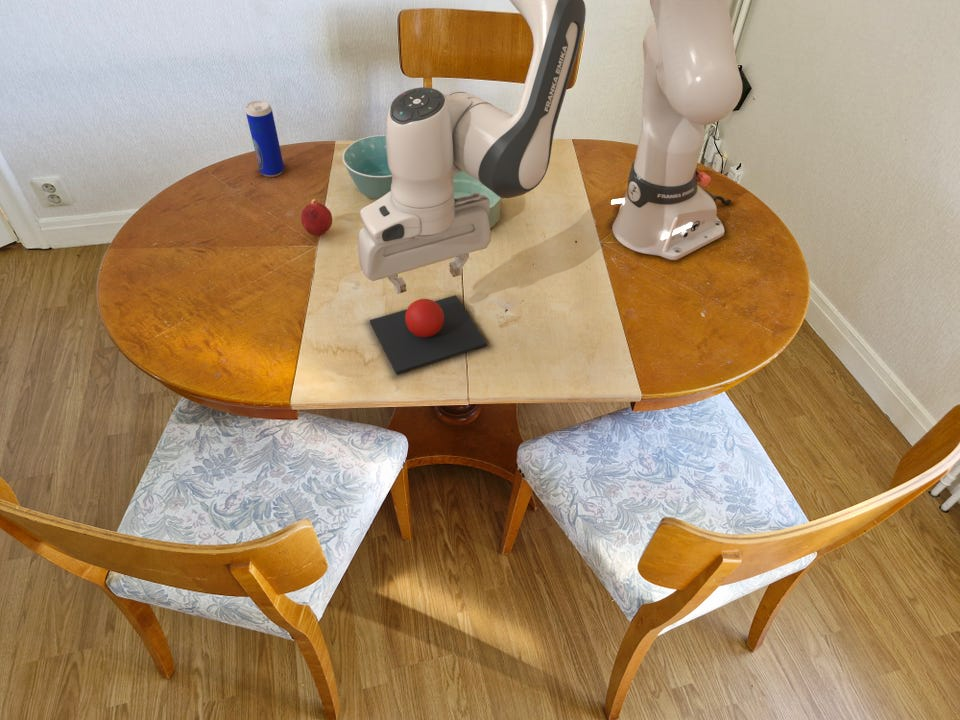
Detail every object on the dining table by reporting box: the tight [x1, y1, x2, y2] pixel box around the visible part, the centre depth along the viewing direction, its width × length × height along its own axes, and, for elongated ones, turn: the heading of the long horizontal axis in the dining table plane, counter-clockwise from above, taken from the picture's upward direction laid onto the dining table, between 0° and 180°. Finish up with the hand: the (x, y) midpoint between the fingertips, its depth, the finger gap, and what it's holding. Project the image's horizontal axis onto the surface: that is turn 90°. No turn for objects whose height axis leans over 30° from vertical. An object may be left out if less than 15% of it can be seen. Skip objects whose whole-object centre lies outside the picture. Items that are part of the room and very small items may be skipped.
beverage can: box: [245, 99, 285, 178], centre depth 144 cm, size 5×5×15 cm
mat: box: [369, 295, 488, 376], centre depth 116 cm, size 16×13×1 cm
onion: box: [300, 198, 333, 237], centre depth 132 cm, size 6×6×8 cm
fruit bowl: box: [453, 171, 503, 229], centre depth 139 cm, size 17×17×6 cm
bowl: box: [342, 134, 392, 201], centre depth 143 cm, size 16×16×8 cm
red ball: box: [405, 298, 444, 338], centre depth 114 cm, size 6×6×6 cm
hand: (428, 282), depth 108 cm, fingers open, 8 cm apart
